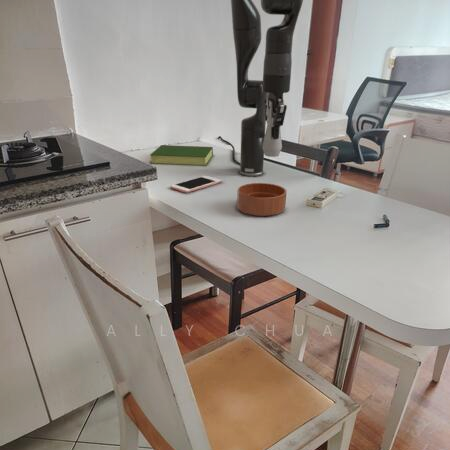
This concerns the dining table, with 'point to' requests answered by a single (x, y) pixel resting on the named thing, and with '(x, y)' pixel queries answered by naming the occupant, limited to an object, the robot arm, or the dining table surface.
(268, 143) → the salt shaker
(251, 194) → the bowl
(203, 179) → the cell phone
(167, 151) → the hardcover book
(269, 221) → the dining table surface
